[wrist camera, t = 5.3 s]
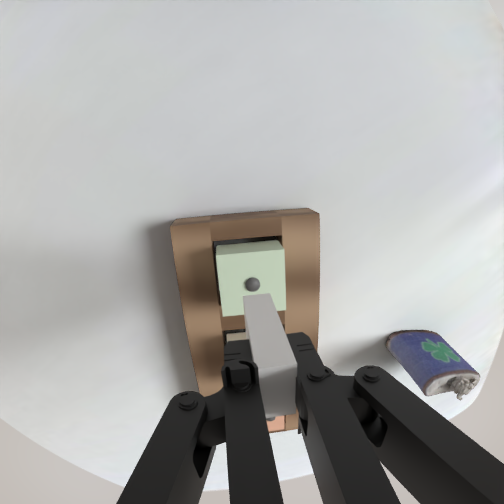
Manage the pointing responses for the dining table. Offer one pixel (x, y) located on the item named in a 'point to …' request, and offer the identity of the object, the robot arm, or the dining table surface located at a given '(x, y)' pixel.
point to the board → (207, 291)
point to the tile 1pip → (250, 274)
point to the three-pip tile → (275, 423)
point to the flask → (432, 362)
